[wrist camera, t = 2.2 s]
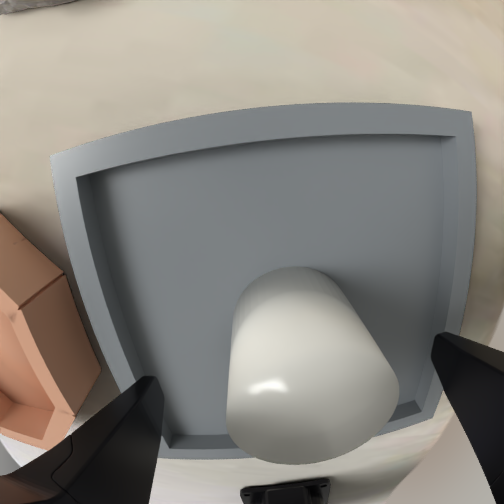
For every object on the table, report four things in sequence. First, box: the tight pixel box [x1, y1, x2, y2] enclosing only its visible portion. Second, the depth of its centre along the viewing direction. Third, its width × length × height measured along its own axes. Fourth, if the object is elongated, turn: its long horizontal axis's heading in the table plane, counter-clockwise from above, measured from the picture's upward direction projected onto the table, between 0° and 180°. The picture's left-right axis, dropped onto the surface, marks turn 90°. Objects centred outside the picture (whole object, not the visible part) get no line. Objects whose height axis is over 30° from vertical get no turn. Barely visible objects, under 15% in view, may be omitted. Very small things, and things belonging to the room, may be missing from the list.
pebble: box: [226, 266, 399, 465], centre depth 9 cm, size 4×4×5 cm
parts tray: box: [50, 103, 477, 459], centre depth 11 cm, size 15×15×2 cm
